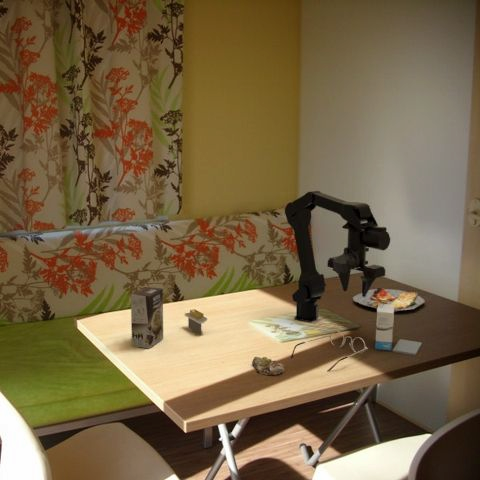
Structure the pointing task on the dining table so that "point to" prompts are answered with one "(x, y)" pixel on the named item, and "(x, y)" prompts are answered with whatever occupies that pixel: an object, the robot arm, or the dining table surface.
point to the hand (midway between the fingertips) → (354, 293)
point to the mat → (407, 347)
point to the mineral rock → (267, 366)
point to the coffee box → (147, 317)
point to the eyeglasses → (338, 346)
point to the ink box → (384, 327)
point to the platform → (195, 320)
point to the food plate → (390, 299)
